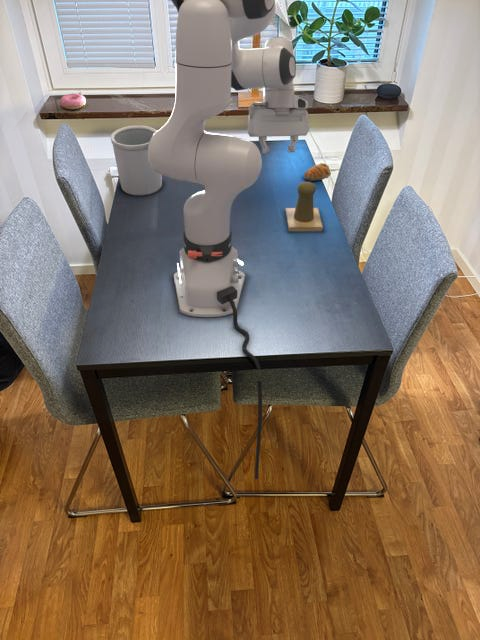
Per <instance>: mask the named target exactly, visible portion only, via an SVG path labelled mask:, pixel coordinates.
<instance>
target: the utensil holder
mask: <svg viewBox="0 0 480 640" xmlns="http://www.w3.org/2000/svg"><path fill="white" fill-rule="evenodd" d="M157 131H158V130H157V129H156V128H154V127H151V126H149V125H148V126H147V125H140V124H139V125H128V126H123V127H121V128H120V127H119V128H118V129H116V130H115V131H113V132H112V133H111V134H110V142H111V144H112V148H113V153H114V158H115V164H116V168H117V174H118V178H119V184H120V186H121V187H120V188H121V190H122V191H123V192H124V193H126V194H128V195H132V196H147V195H151V194H155V193H156V192H158V191H160V189H161V188H162V186H163V177H162V176H163V175H161V174H159V173H156V172H155V171H154V170H153V168H152V167H151V165H150V162H149V159H148V145H149V142H150V140H151V138H152V136H153V135H154V134H155V133H156V132H157Z"/></svg>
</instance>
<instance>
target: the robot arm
mask: <svg viewBox="0 0 480 640" xmlns="http://www.w3.org/2000/svg"><path fill="white" fill-rule="evenodd" d="M170 1H171V3H172V4H173V7H174V8H175V9H176V11H177V14H178V15H177V21H176V31H175V47H174V48H175V49H174V50H175V54H174V55H175V57H174V58H175V99H174V105H173V109H172V112H171V114H170V117H169V118H168V120H167V121H166V122H165V124H164V125H163V126H161V128H159V129H158V130H157V132H156V133H155V134H154V135H153V136H152V138H151V140H150V142H149V145H148V159H149V162H150V165H151V167H152V168H153V170H154V171H155V172H156V173H159V174H161V175H162V176H164V177H166V178H168V179H172V180H174V181H181V182H188V183H193V184H199V185H202V186H203V187H204V189H203V190H200V191H197V192H195V193H193V194H191V196H189V197H188V198H187V199H186V201H185V202H184V206H183V208H182V213H183V224H184V230H183V237H182V238H183V239H182V242H183V247H182V248H181V249H180V250H179V262H180V266H179V263H178V262H177V263H176V265H177V271H176V272H175V273H174V274H173V283H174V288H175V293H176V298H177V304H178V308H179V313H181V314H183V315H185V316H190V317H195V318H219V317H226V316H229V315H233V319H232V322H233V326H234V328H235V330H236V331H238V333H241V334H243V335H244V336H245V337H244V341H243V342H242V345H241V348H242V352H243V353H244V354H245V355H246V356H247V357H248V359H251V360H252V362H253V364H254V365H255V368H256V370H257V371H260V370H261V369H262V368H261V367H262V366H261V364H260V362H259V360H258V358H257V357H256V356H255V355H253V353H251V352H250V351H249V350H248V348H247V345H248V343H249V341H250V334H249V332H248V331H247V330H245V329H244V328H242V327H241V326H239V323H238V311H237V309H238V306H239V302H240V298H241V295H242V292H243V288H244V283H245V281H246V274H245V273H244V272H243V271H242V270H239V265H240V266H244V262H243V260H240V259H239V258H238V257H239V256H238V250H237V249H236V248H235V247H234V246H233V234H232V230H231V211H232V206H233V204H234V201H235V200H236V198H237V197H238V195H239V194H241V193H242V192H244V191H245V190H246V189H249V188H250V187H252V186H253V185H254V184H255V183H256V181H257V180H258V179H259V177H260V175H261V172H262V168H263V167H262V166H263V159H262V154H270V149H271V148H270V147H271V146H268V144H267V143H266V141H267V140H268V138H267V137H289V139H290V144H289V145H287V153H295V152H296V145H297V143H298V142H299V137H304V136H307V135H308V133H309V131H310V118H309V117H310V115H309V112H308V110H307V109H308V108H309V102H308V100H307V99H304V98H302V97H300V96H298V95H297V94H295V87H294V79H295V78H296V76H297V75H296V72H297V71H296V70H297V69H296V68H297V67H296V66H297V60H296V57H295V53H294V48H293V47H294V46H293V41H292V40H291V39H289V38H287V37H283V36H275V37H270V38H269V39H267V40H265V44H264V47H261V48H260V47H257V48H242V47H240V41H242V40H245V39H247V38H251V37H253V36H257V35H259V34H261V33H262V32H263V31H265V30H266V29H267V28H268V27H269V26H270V24H271V23H272V21H273V20H274V17H275V16H276V12H277V0H170ZM232 89H233V90H235V91H237V92H238V91H244V90H245V91H246V90H249V89H250V90H251V89H263V91H262V93H263V97H262V98H263V101H260V102H259V101H253V102H252V103H251V104H250V105H249V107H248V119H247V135H248V136H249V137H250V138H258V143H259V145H260V146H261V151H260V148H259V147H258V146H257V144H256V143H255V142H252V141H250V140H247V139H245V138H241V137H238V136H235V135H229V134H222V133H217V132H208V131H206V129H205V125H206V121H207V120H209V119H211V118H214V117H217V116H218V115H220V114H221V113H223V112H224V111H226V109H227V108H228V107H229V105H230V103H231V99H232ZM261 153H262V154H261ZM262 385H263V382H262V380H257V429H256V430H257V432H256V433H257V434H256V448H255V449H256V450H255V461H254V462H255V465H254V479H255V480H259V468H260V467H259V466H260V453H261V442H262V441H261V438H262V427H263V426H262V422H263V386H262Z"/></svg>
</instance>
